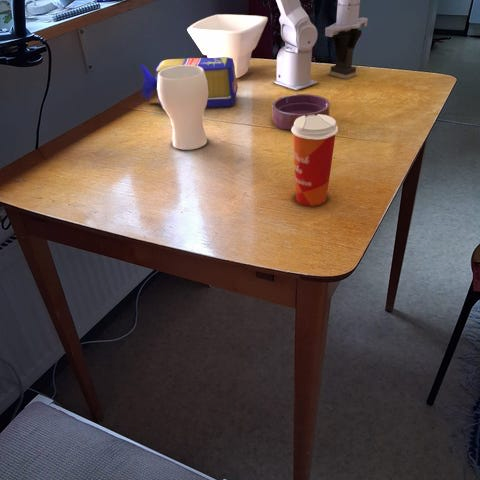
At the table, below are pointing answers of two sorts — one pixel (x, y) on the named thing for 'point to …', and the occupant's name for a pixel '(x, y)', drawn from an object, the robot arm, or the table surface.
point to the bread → (216, 73)
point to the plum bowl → (297, 109)
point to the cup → (184, 103)
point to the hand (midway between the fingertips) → (343, 60)
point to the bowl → (229, 37)
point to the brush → (344, 66)
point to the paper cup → (313, 157)
